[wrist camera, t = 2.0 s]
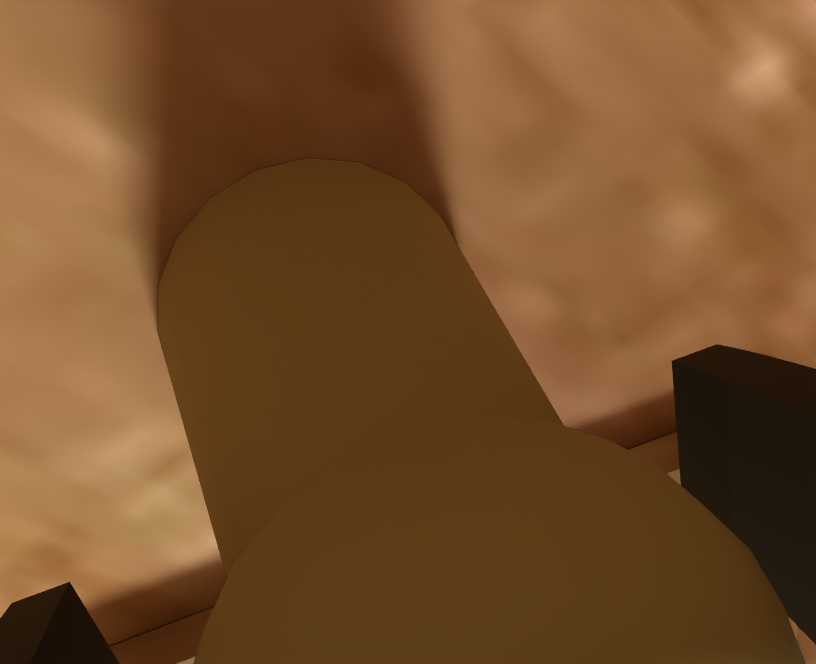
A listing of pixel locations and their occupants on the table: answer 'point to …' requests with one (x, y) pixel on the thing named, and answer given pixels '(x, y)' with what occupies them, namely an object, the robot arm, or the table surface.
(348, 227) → the cork
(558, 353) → the table surface
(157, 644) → the coaster board
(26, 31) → the table surface
